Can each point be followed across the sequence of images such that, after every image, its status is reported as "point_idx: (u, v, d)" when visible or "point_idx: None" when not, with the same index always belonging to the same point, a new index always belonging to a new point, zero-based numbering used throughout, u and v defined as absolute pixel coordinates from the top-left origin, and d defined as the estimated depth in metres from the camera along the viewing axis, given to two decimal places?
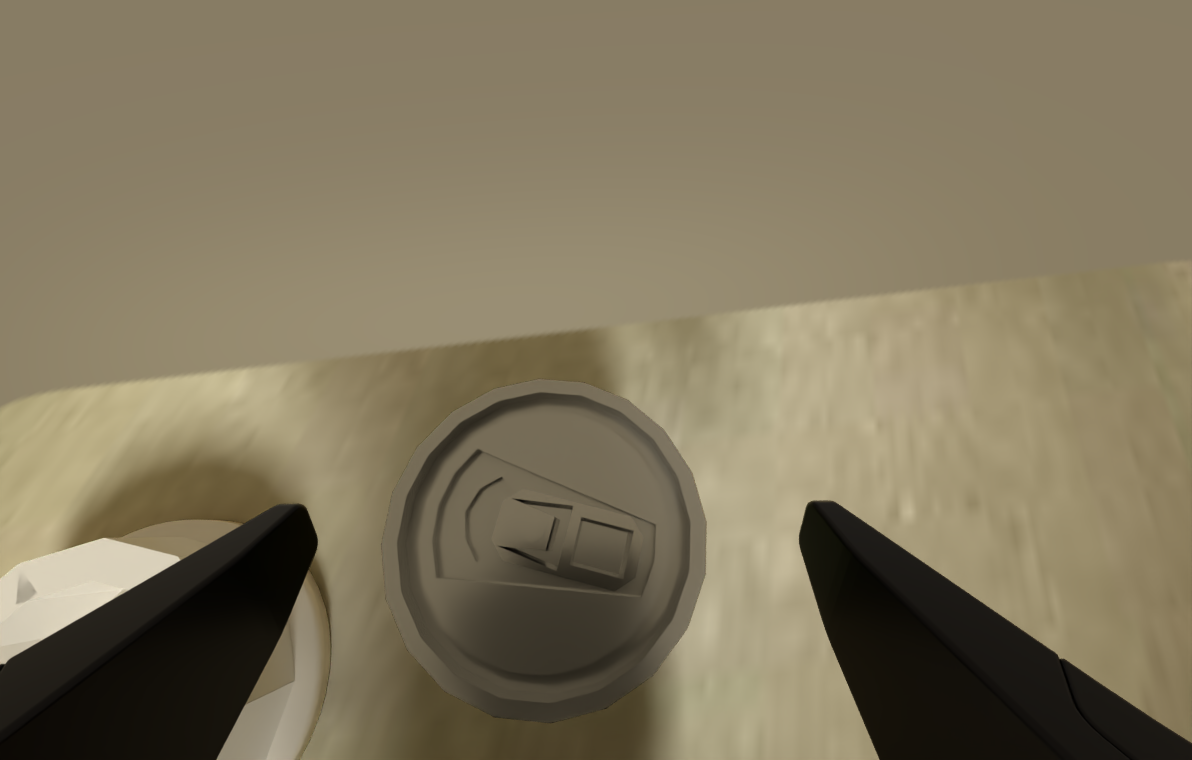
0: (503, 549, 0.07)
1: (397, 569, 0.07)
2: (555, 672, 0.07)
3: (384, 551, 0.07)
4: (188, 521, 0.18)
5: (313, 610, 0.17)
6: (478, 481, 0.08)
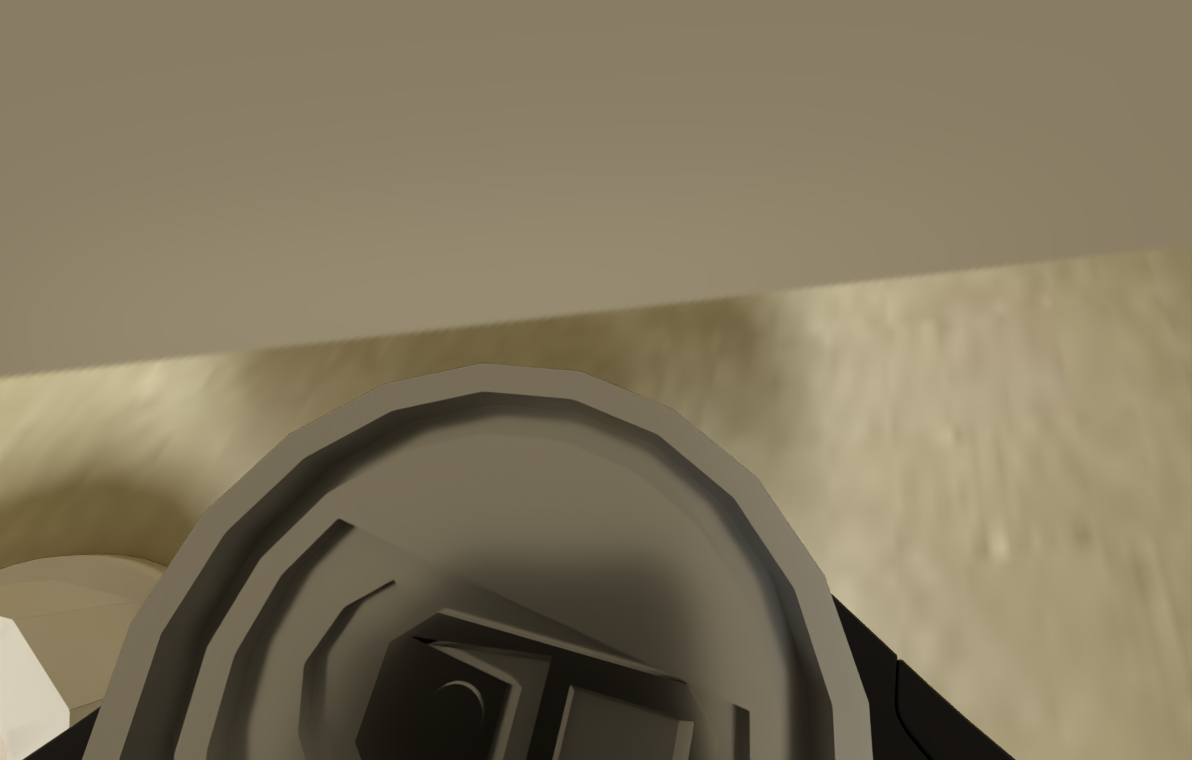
0: None
1: None
2: None
3: None
4: (65, 558, 0.14)
5: None
6: (343, 590, 0.03)
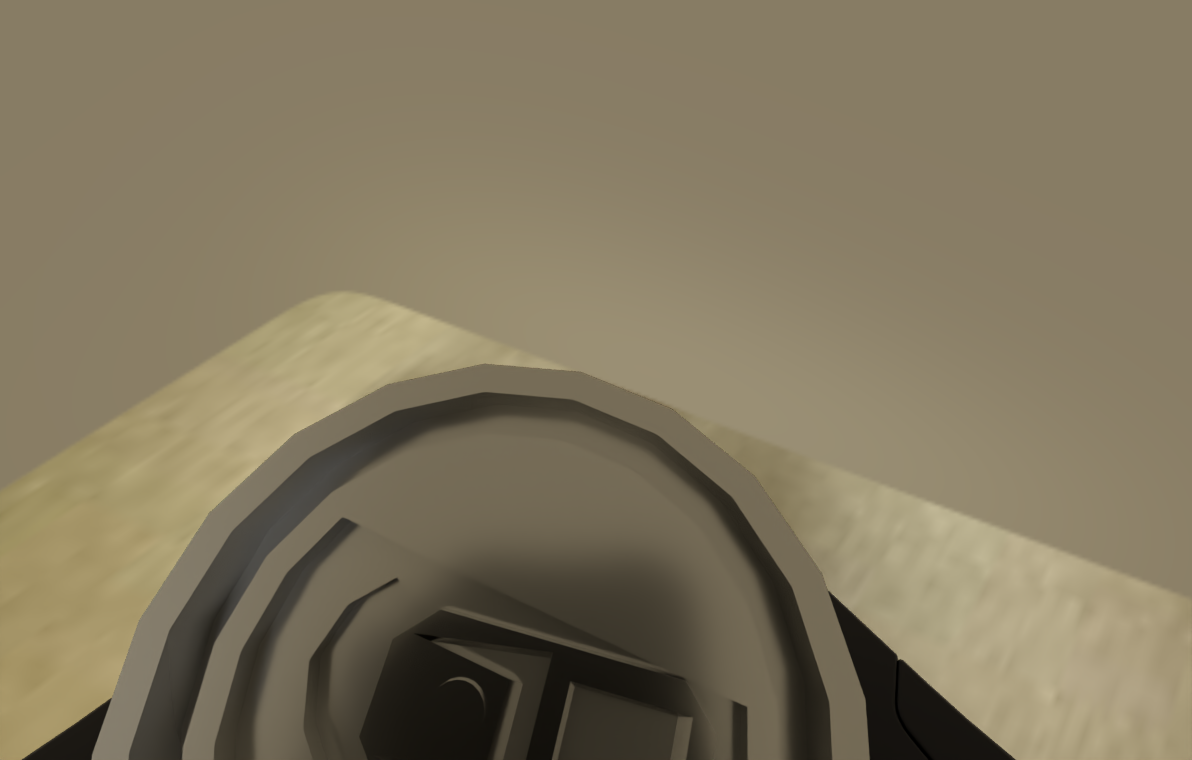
0: None
1: None
2: None
3: None
4: None
5: None
6: (348, 588, 0.03)
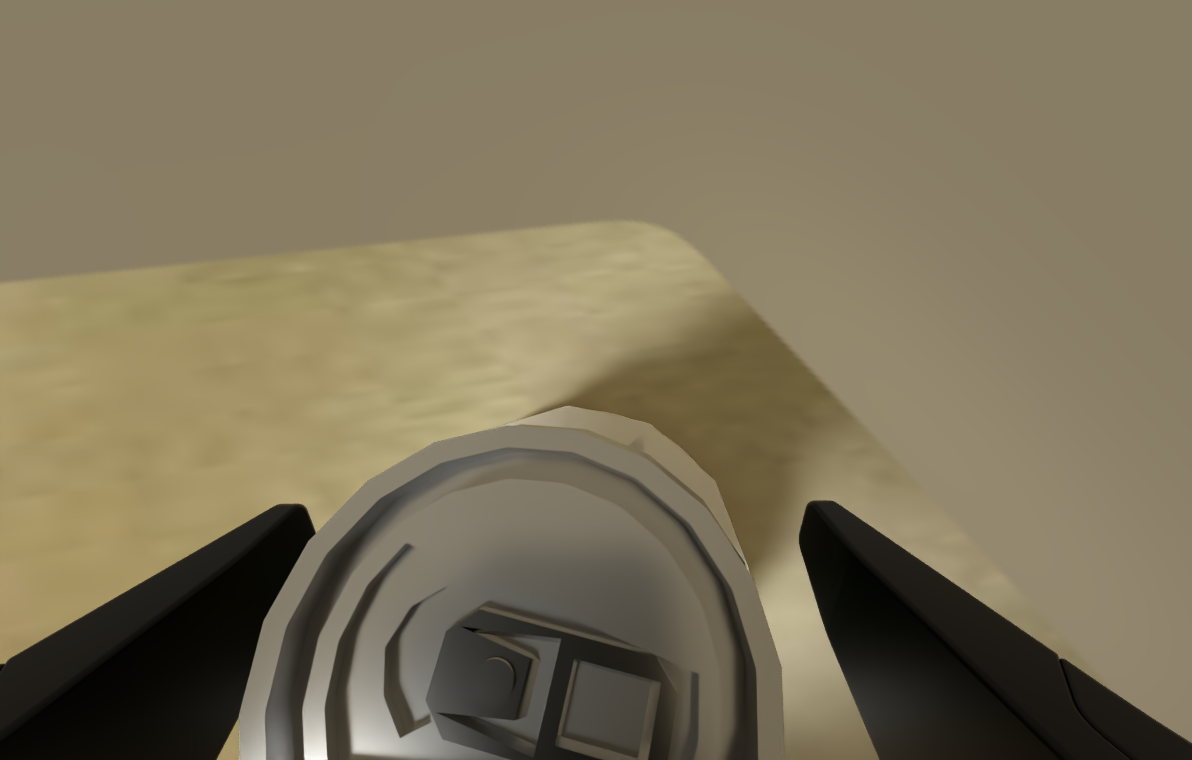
0: (444, 718, 0.04)
1: None
2: None
3: (244, 724, 0.04)
4: None
5: None
6: (410, 595, 0.05)
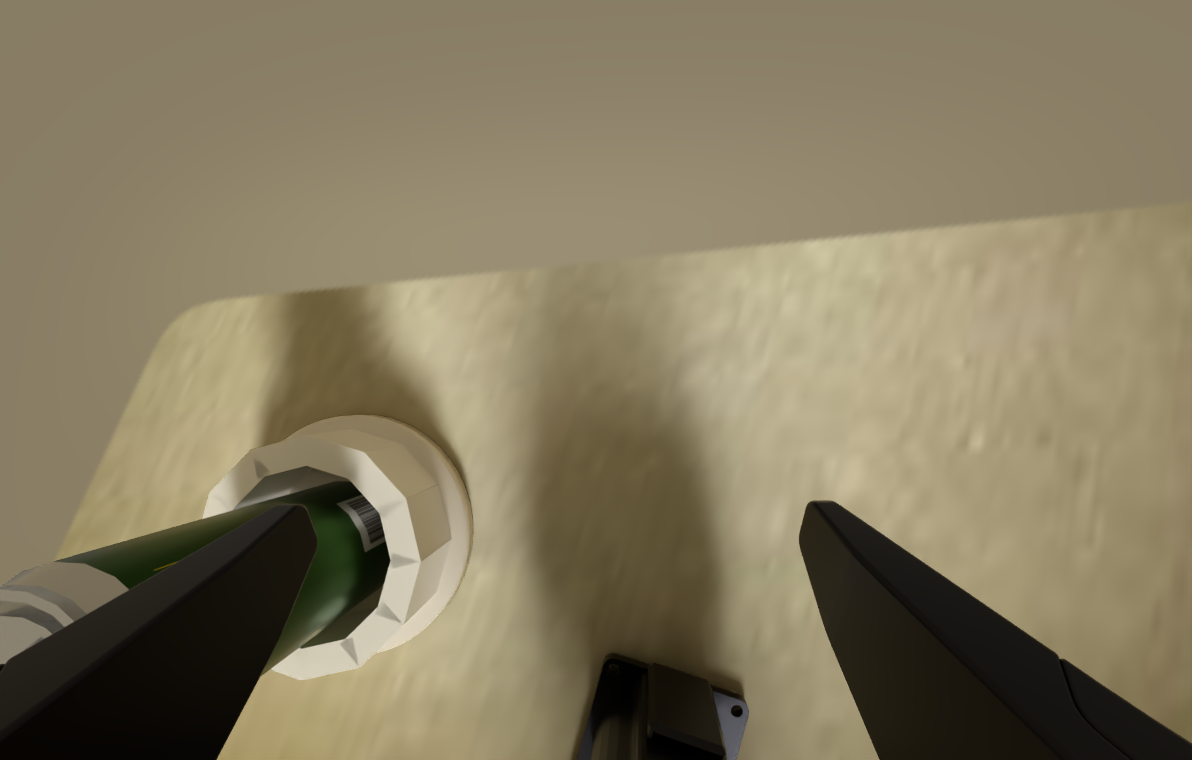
0: None
1: None
2: None
3: None
4: (353, 417, 0.22)
5: (458, 489, 0.22)
6: None
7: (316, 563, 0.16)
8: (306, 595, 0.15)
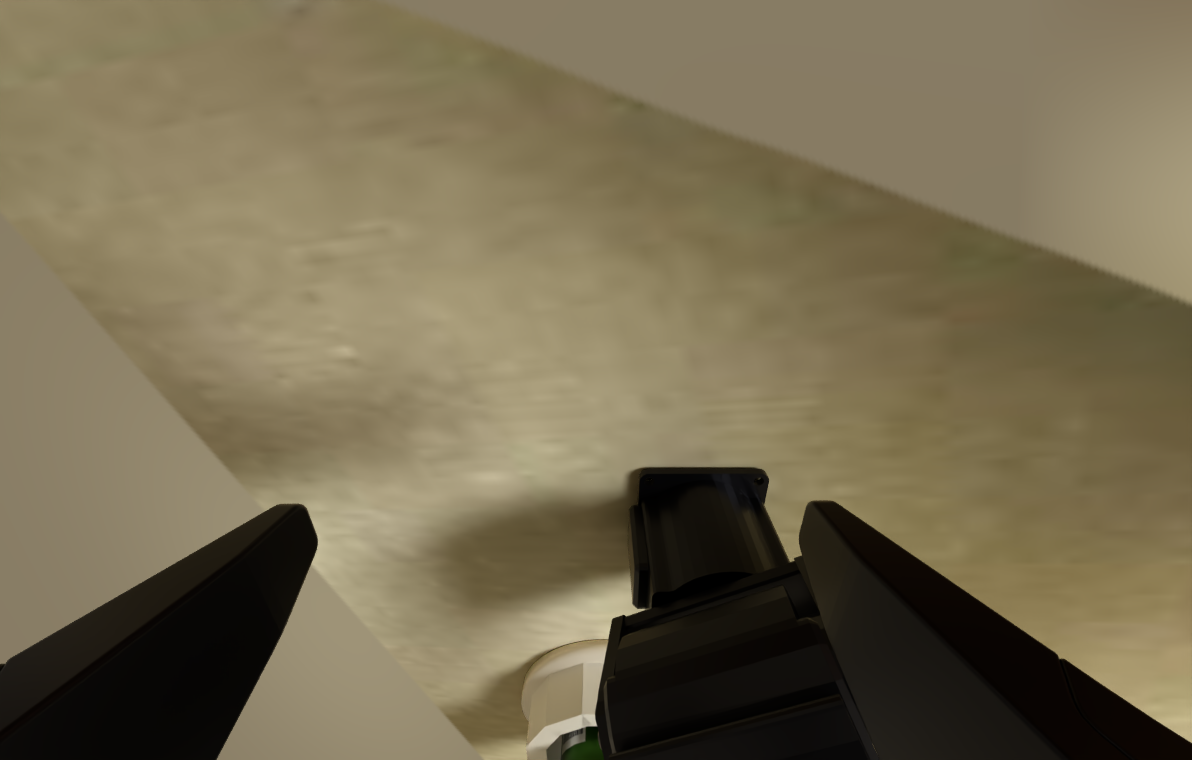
0: None
1: None
2: None
3: None
4: (526, 717, 0.33)
5: (550, 662, 0.30)
6: None
7: None
8: None
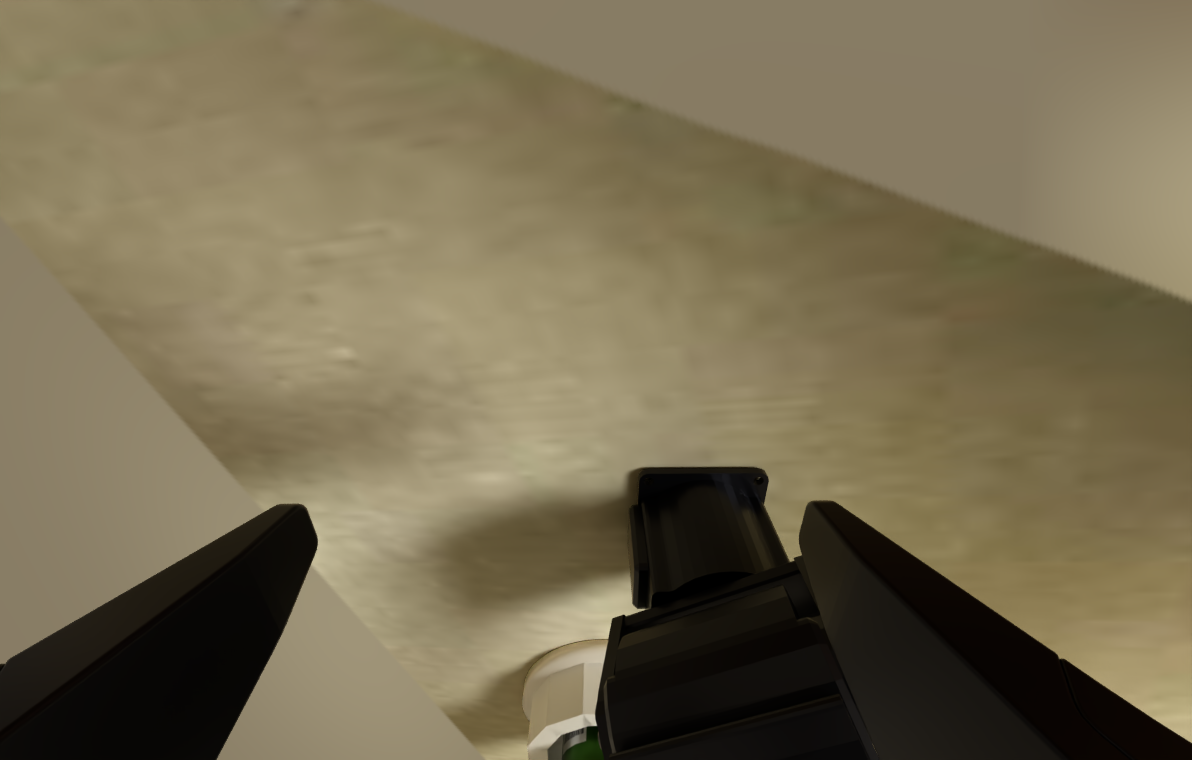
0: None
1: None
2: None
3: None
4: (527, 717, 0.33)
5: (551, 662, 0.30)
6: None
7: None
8: None
